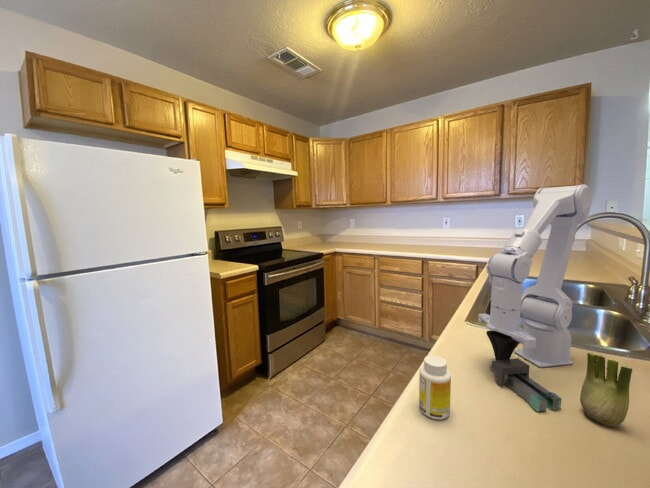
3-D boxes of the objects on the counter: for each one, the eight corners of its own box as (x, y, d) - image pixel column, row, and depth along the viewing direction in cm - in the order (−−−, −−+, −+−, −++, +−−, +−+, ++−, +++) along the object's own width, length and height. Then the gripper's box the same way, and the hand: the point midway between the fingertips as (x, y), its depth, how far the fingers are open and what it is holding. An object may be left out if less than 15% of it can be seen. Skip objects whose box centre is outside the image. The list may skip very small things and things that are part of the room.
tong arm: (499, 374, 64) (499, 365, 64) (546, 410, 52) (546, 400, 52) (492, 374, 64) (492, 365, 64) (537, 411, 52) (538, 400, 52)
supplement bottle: (455, 411, 53) (457, 361, 52) (440, 426, 49) (442, 372, 48) (428, 397, 57) (429, 350, 56) (413, 409, 54) (414, 359, 53)
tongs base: (500, 366, 68) (501, 357, 67) (560, 409, 53) (561, 398, 53) (487, 368, 67) (488, 358, 67) (544, 412, 52) (545, 400, 52)
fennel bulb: (630, 432, 47) (638, 366, 46) (599, 431, 48) (606, 365, 46) (600, 408, 53) (606, 349, 52) (572, 407, 53) (578, 348, 52)
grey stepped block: (516, 375, 64) (517, 358, 63) (528, 383, 61) (529, 365, 60) (490, 378, 63) (491, 360, 62) (501, 386, 60) (502, 368, 59)
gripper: (468, 297, 69) (466, 349, 71) (515, 319, 55) (511, 383, 56) (493, 296, 70) (491, 346, 72) (547, 317, 56) (542, 380, 57)
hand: (502, 363), depth 64 cm, fingers closed
